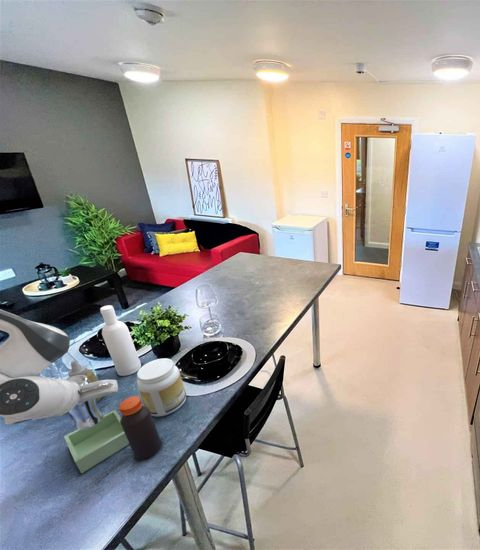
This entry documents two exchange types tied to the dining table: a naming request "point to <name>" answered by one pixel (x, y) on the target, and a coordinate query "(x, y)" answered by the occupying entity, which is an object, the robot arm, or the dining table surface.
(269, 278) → the dining table surface
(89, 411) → the beer glass
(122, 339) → the bottle
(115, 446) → the tote
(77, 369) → the squeeze bottle
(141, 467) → the dining table surface
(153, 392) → the supplement tub
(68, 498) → the dining table surface
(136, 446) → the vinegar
